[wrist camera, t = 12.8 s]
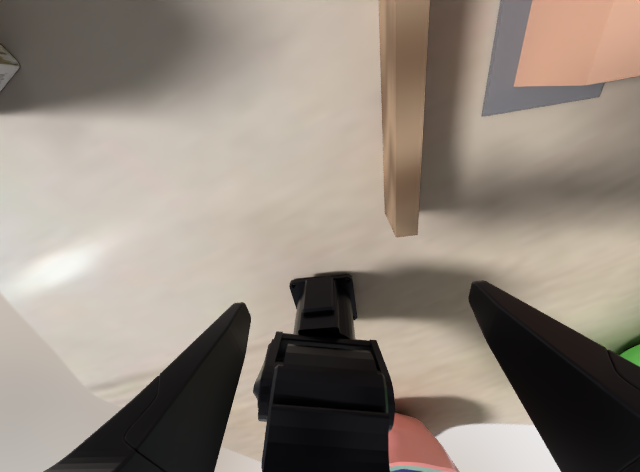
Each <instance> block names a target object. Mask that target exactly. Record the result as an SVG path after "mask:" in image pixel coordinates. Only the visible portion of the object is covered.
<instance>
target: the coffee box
mask: <svg viewBox="0 0 640 472" xmlns="http://www.w3.org/2000/svg"><path fill="white" fill-rule="evenodd" d="M19 67H20V66H19V63H18V62H17V60H16V59H15V58H14V57H13V56H12V55H11V54H10V53H9V52H8V51H6V50H5V49H4V48H3V47H2V46H1V45H0V91H1V90H2V89H3V87H4V86H5V85H6V84H7V82H8V81H9V80H10V79H11V78H12V76H13V75H14V74H15V73H16V71H17V70H18V69H19Z"/></svg>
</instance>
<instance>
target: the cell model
mask: <svg viewBox="0 0 640 472" xmlns="http://www.w3.org/2000/svg"><path fill="white" fill-rule="evenodd" d="M388 438H389V466H390V472H459V470H458V469H457V467H456V466H455V464H454V463H453V461H452V460H451V459H450V457H449V455H448V454H447V453H446V451H445V450H444V448H443V447H442V445H441V444H440V443H439V442H438V440H437V439H436V438H435V437H434V436H433V435H432V433H431V432H430V431H429V430H428V429H427V428H426V426H425V425H424V424H423V423H422V422H421V421H420V420H418V419H416V418H413V417H410V416H407V415H403V414H400V413H396V412H395V417H394V424H393V427H392V430H391V431H389V434H388Z"/></svg>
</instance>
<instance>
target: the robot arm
mask: <svg viewBox="0 0 640 472" xmlns="http://www.w3.org/2000/svg"><path fill="white" fill-rule="evenodd" d="M346 279H349V280H346ZM290 290H291V293H292V296H293V299H294V302H295V306H296V309H297V313H296V320H295V327H294V334H287V333H283V332H276V335H275V338H274V339H272V342H271V343H270V344H269V345H268V349H267V354H266V358H265V361H264V364H263V366H262V369H261V371H260V373H259V375H258V377H257V380H256V382H255V384H254V389H253V393H254V395H255V396H256V398H257V400H258V408H259V410H258V420H259V421H265V422H267V425H266V433H265V441H264V449H263V457H262V472H390V466H389V438H388V434H389V431H391V430H392V427H393V424H394V417H395V401H394V392H393V386H392V382H391V378H390V375H389V373H388V370H387V367H386V365H385V362H384V359H383V357H382V354H381V351H380V349H379V346H378V343H377V341H376V340H370V341H366V340H355V332H354V322H353V320H355V319H357V312H356V304H355V296H354V289H353V281H352V276H351V275H348V274H346V275H337V276H327V277H318V278H309V279H299V280H292V281H291V282H290ZM469 303H470V306H471V308H472V310H473V312H474V315H475V317H476V319H477V321H478V324H479V326H480V328H481V330H482V333H483V335H484V337H485V339H486V341H487V343H488V345H489V347H490V349H491V350H492V352H493V354H494V356H495V357H496V359H497V361H498V363H499V364H500V366H501V368H502V370H503V371H504V373H505V375H506V376H507V378H508V380H509V382H510V383H511V385H512V387H513V389H514V390H515V392H516V394H517V396H518V397H519V399H520V401H521V403H522V404H523V406H524V408H525V410H526V411H527V413H528V415H529V417H530V418H531V420H532V422H533V423H534V425H535V427H536V428H537V430H538V432H539V434H540V436H541V437H542V439H543V440H544V442H545V444H546V446H547V448H548V449H549V451H550V453H551V455H552V457H553V458H554V460H555V462H556V463H557V465H558V467H559V469H560V470H561V472H640V366H638V365H636V364H634V363H632V362H630V361H629V360H627V359H625V358H623V357H621V356H619V355H618V354H616V353H614V352H612V351H611V350H607V349H606V348H605V347H603V346H601V345H600V344H598V343H596V342H594V341H592V340H591V339H589V338H587V337H585V336H583V335H582V334H580V333H578V332H576V331H574V330H573V329H571V328H569V327H567V326H566V325H564V324H562V323H560V322H558V321H557V320H555V319H553V318H551V317H549V316H548V315H546V314H544V313H542V312H540V311H539V310H537V309H535V308H533V307H531V306H530V305H528V304H526V303H524V302H522V301H521V300H519V299H517V298H515V297H513V296H512V295H510V294H508V293H506V292H504V291H503V290H501V289H499V288H497V287H496V286H494V285H492V284H490V283H488V282H486V281H475V282H473V283H472V284H471V289H470V293H469ZM250 323H251V316H250V313H249V311H248V309H247V307H246V305H245V303H243V302H241V303H234V304H233V305H232V306H231V307H230V308H228V309H227V310H226V311H225V312H224V313H223V314H222V315H221V316H220V317H219V318H218V319H217V320H216V321H215V322H214V323H213V324H212V325H211V326H210V327H209V328H208V329H206V330H205V331H204V332H203V333H202V334H201V335H200V336H199V337H198V338H197V339H196V340H195V341H194V342H193V343H192V344H191V345H190V346H189V347H188V348H187V349H186V350H185V351H183V352H182V353H181V354H180V355H179V356H178V357H177V358H176V359H175V360H174V361H173V362H172V363H171V364H170V365H169V366H168V367H167V368H166V369H165V370H164V371H163V372H161V373H160V375H159V376H157V377H156V378H155V379H154V380H153V381H152V382H151V383H150V384H149V385H148V386H147V387H146V388H145V389H143V390H142V391H141V392H140V393H139V394H138V395H137V396H136V397H135V398H134V399H133V400H131V401H130V402H129V403H128V404H127V405H126V406H125V407H123V408H122V409H121V410H120V411H119V412H118V413H117V414H116V415H114V416H113V417H112V418H111V419H110V420H108V421H107V422H106V423H105V424H104V425H103V426H101V427H100V428H99V429H98V430H97V431H96V432H95V433H93V434H92V435H91V436H90V437H89V438H87V439H86V440H85V441H84V442H83V443H82V444H81V445H79V446H78V447H77V448H76V449H74V450H73V451H72V452H71V453H70V454H69V455H67V456H66V457H65V458H63V459H62V460H61V461H59V462H58V463H56V464H55V465H54V466H52V467H51V468H49V469H47V470H45V471H44V472H214V470H215V466H216V462H217V459H218V455H219V451H220V448H221V444H222V440H223V436H224V433H225V429H226V425H227V422H228V418H229V414H230V411H231V407H232V403H233V400H234V396H235V392H236V388H237V385H238V381H239V377H240V374H241V370H242V366H243V363H244V358H245V354H246V348H247V342H248V335H249V329H250Z"/></svg>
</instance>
